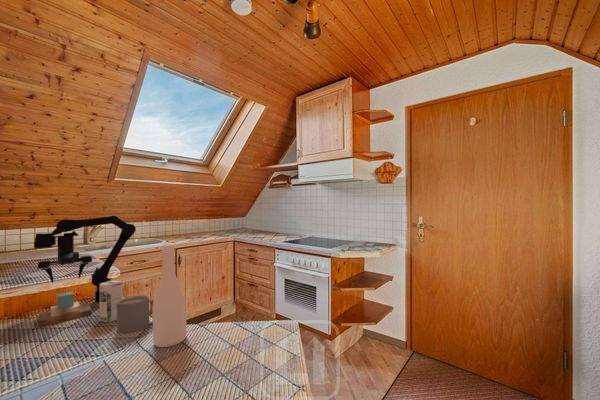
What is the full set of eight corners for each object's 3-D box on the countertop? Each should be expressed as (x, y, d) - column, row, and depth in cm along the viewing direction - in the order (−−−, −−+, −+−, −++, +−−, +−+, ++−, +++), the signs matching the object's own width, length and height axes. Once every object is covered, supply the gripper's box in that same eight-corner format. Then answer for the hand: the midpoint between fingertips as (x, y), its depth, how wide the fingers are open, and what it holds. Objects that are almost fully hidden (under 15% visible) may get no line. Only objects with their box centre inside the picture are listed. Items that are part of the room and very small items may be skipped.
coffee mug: (123, 336, 91) (123, 306, 91) (112, 329, 97) (112, 301, 97) (164, 322, 102) (163, 295, 102) (151, 316, 108) (151, 291, 108)
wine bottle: (168, 350, 80) (166, 248, 81) (146, 345, 83) (143, 247, 84) (193, 336, 88) (190, 244, 90) (171, 332, 92) (169, 243, 93)
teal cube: (72, 303, 116) (72, 291, 116) (73, 306, 113) (73, 293, 113) (57, 306, 113) (57, 294, 113) (57, 309, 109) (57, 296, 109)
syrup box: (98, 321, 105) (98, 283, 106) (114, 315, 111) (113, 279, 111) (108, 323, 103) (107, 284, 104) (123, 317, 108) (123, 280, 109)
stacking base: (88, 307, 123) (88, 298, 123) (91, 314, 113) (91, 304, 113) (39, 317, 112) (39, 308, 112) (38, 326, 102) (38, 316, 102)
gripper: (37, 250, 114) (37, 288, 113) (93, 245, 126) (93, 278, 126) (37, 248, 122) (38, 283, 121) (90, 243, 135) (90, 275, 134)
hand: (66, 280), depth 125 cm, fingers open, 9 cm apart
